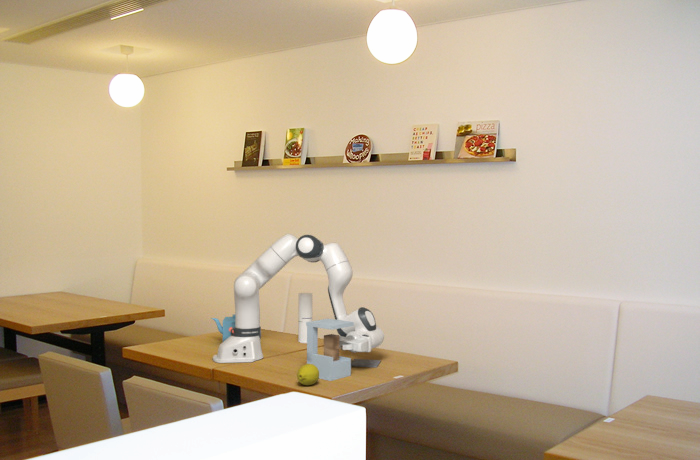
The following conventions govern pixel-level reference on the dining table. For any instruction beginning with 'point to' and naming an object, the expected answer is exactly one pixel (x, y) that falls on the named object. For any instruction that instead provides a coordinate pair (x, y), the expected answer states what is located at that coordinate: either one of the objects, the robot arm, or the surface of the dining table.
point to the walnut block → (331, 346)
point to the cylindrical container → (304, 315)
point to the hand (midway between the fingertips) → (333, 346)
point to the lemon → (308, 374)
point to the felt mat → (365, 363)
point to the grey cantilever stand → (325, 363)
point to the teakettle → (225, 326)
